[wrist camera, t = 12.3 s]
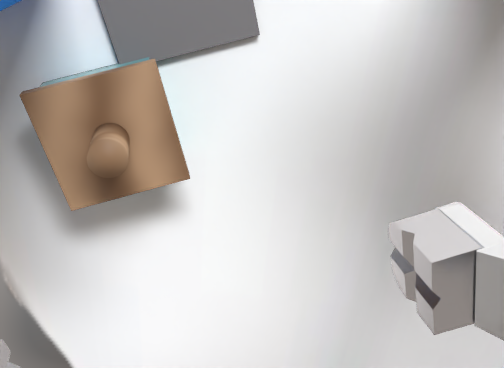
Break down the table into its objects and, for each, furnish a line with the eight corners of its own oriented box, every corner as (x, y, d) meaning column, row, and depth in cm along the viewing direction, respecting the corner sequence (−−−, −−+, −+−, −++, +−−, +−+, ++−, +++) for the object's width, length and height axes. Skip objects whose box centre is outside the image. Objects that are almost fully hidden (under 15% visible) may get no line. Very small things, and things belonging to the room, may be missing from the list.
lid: (154, 58, 36) (156, 74, 32) (189, 173, 41) (194, 201, 37) (22, 91, 36) (5, 112, 31) (72, 205, 40) (64, 237, 36)
